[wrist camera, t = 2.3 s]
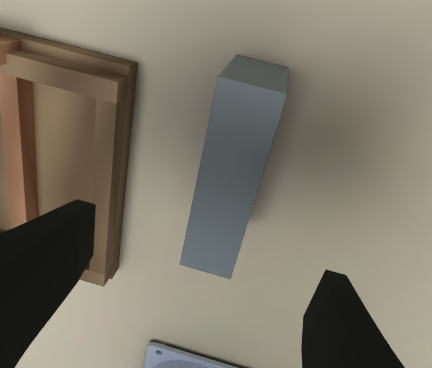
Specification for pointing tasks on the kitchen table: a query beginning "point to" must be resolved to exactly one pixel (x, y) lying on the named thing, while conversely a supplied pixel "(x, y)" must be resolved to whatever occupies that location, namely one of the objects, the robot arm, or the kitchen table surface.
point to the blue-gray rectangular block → (233, 162)
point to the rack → (65, 137)
